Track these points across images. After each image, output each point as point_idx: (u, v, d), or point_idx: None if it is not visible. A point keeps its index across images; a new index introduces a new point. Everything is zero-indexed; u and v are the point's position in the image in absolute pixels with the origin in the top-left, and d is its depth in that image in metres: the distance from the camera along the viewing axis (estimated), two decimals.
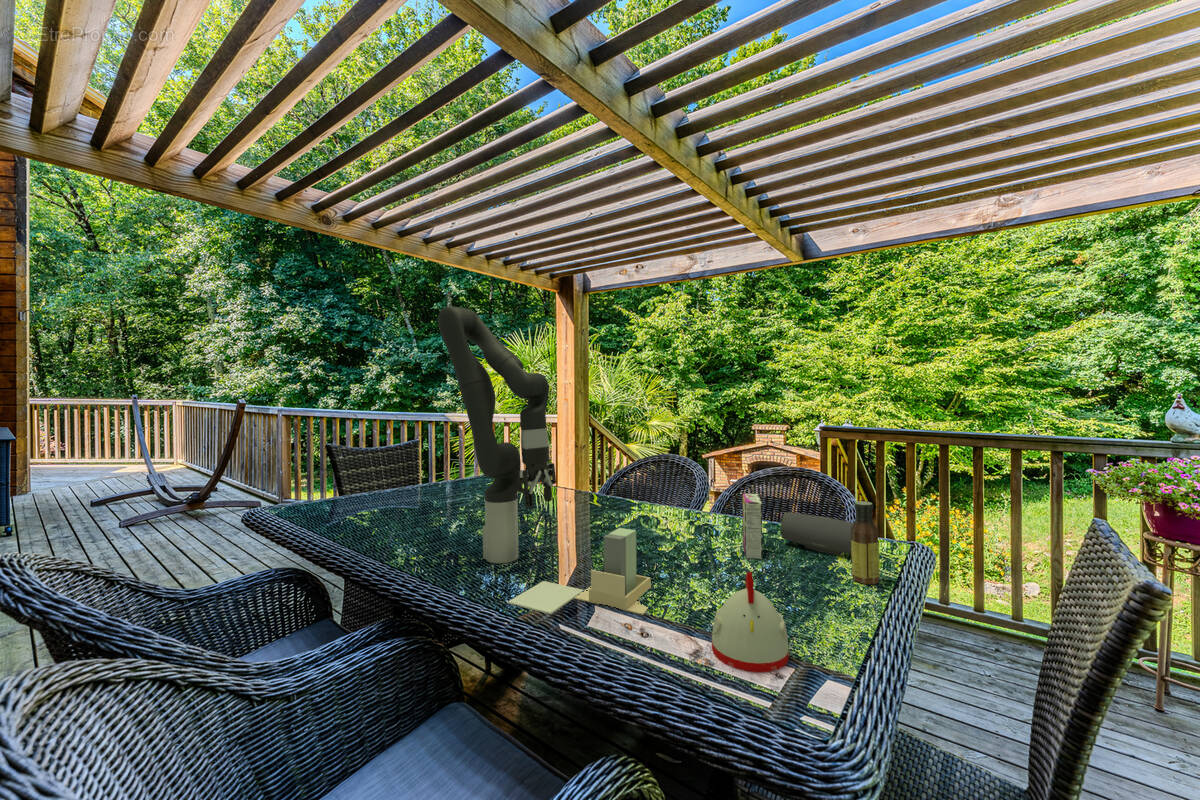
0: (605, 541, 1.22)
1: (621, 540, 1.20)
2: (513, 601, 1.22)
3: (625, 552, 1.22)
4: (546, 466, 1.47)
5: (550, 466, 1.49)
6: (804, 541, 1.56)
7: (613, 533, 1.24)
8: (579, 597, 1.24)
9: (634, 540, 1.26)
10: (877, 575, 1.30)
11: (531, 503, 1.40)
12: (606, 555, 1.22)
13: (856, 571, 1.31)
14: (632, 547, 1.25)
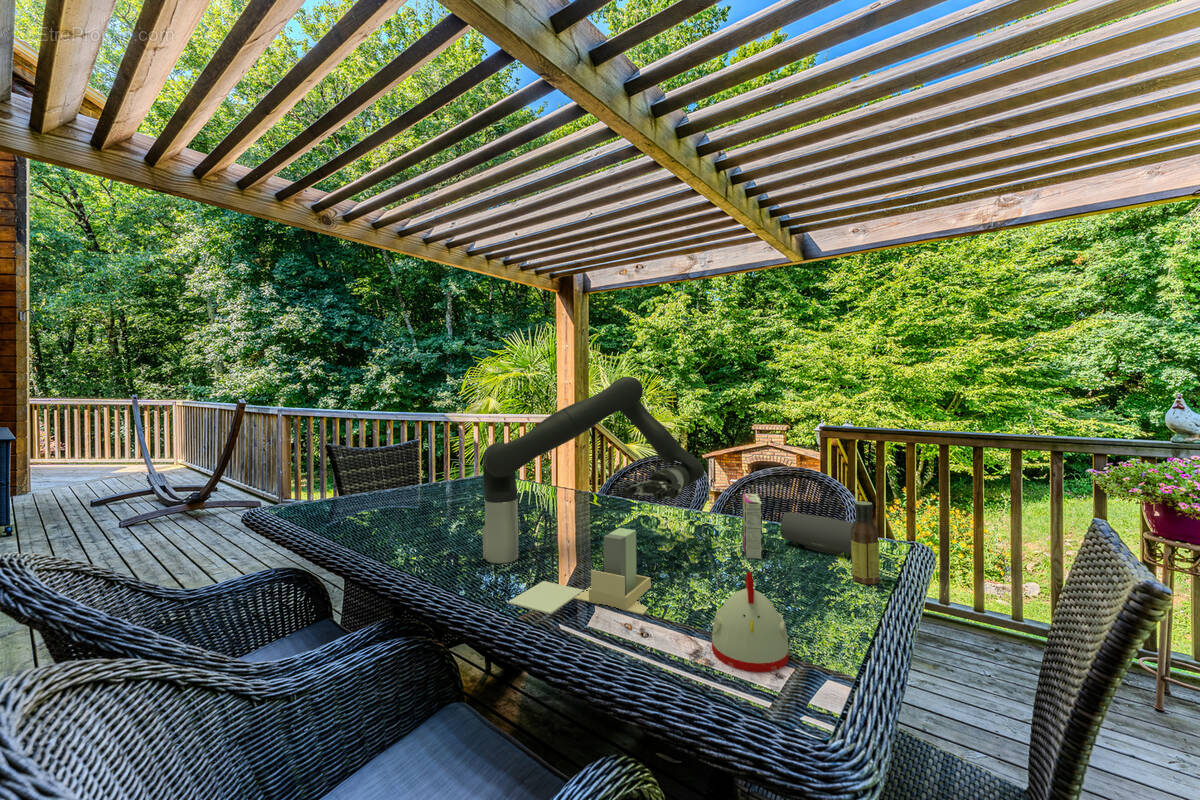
0: (605, 541, 1.22)
1: (621, 540, 1.20)
2: (513, 601, 1.22)
3: (625, 552, 1.22)
4: None
5: (638, 488, 1.46)
6: (804, 541, 1.56)
7: (613, 533, 1.24)
8: (579, 597, 1.24)
9: (634, 540, 1.26)
10: (877, 575, 1.30)
11: (660, 499, 1.33)
12: (606, 555, 1.22)
13: (856, 571, 1.31)
14: (632, 547, 1.25)
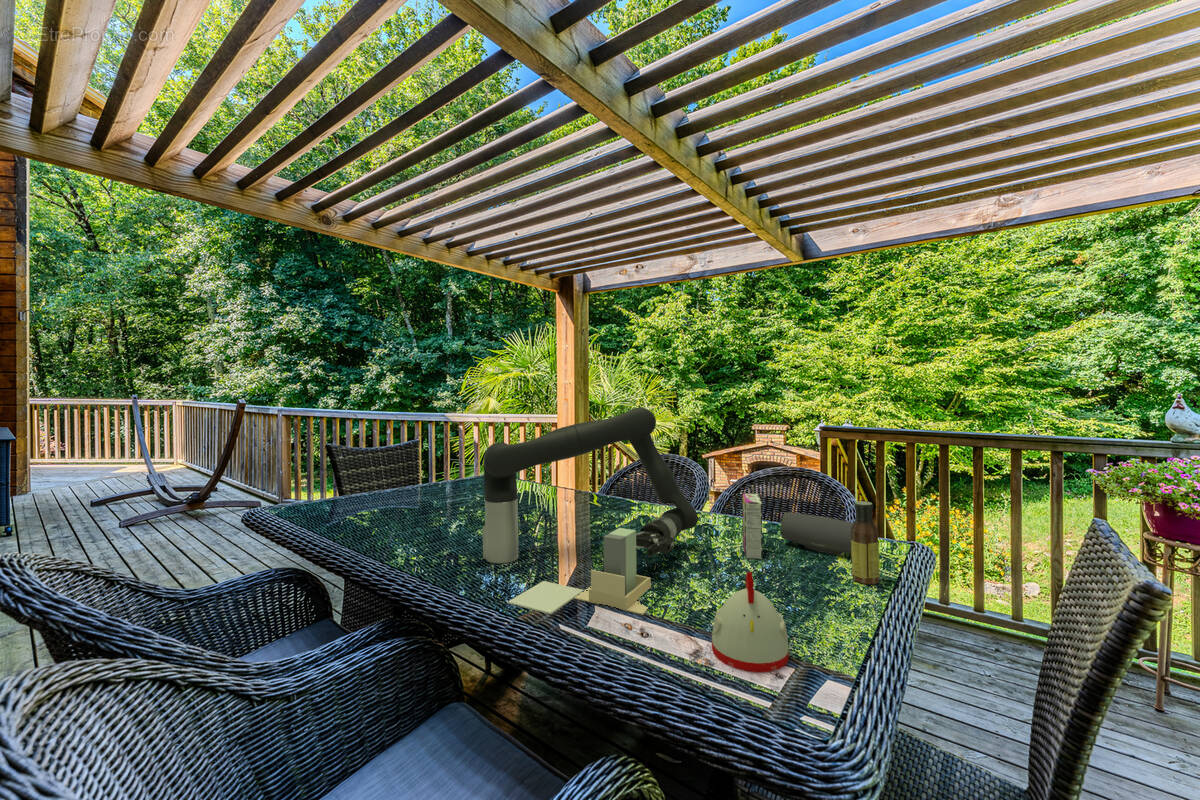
0: (605, 541, 1.22)
1: (621, 540, 1.20)
2: (513, 601, 1.22)
3: (625, 552, 1.22)
4: None
5: None
6: (804, 541, 1.56)
7: (613, 533, 1.24)
8: (579, 597, 1.24)
9: (634, 540, 1.26)
10: (877, 575, 1.30)
11: (651, 555, 1.30)
12: (606, 555, 1.22)
13: (856, 571, 1.31)
14: (632, 547, 1.25)
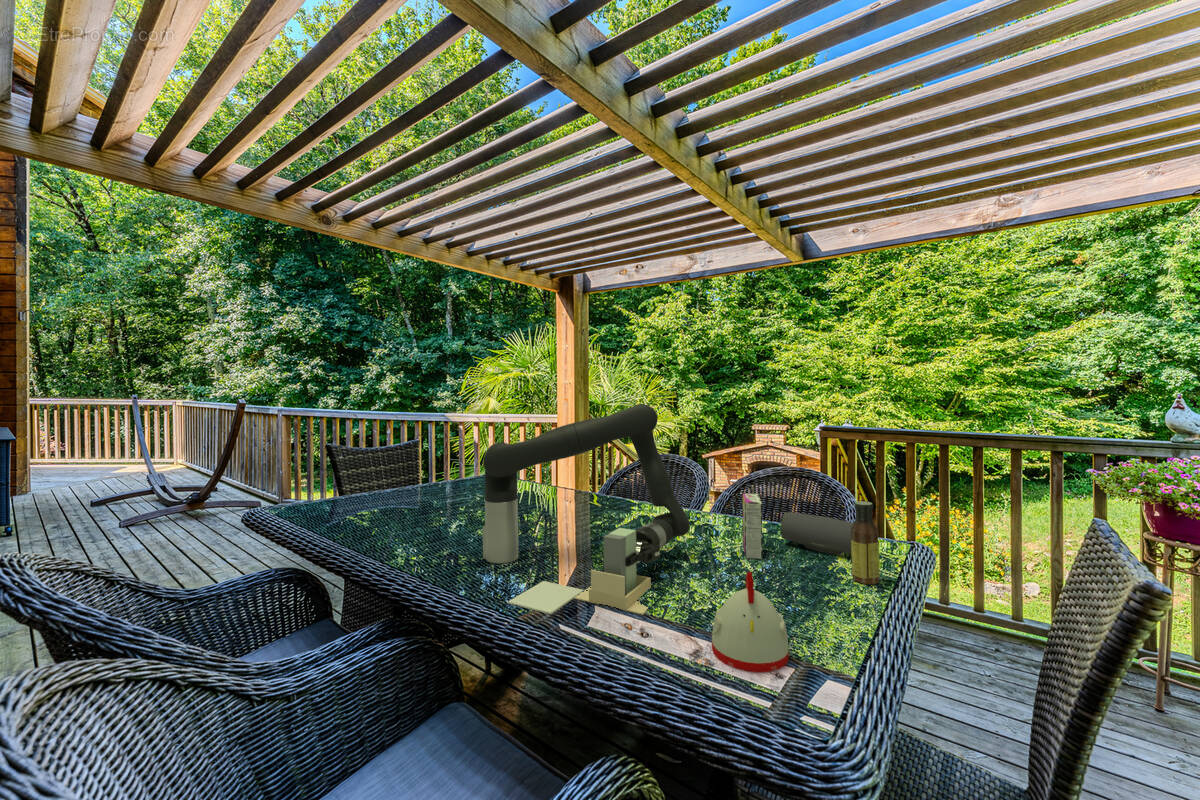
0: (605, 541, 1.22)
1: (621, 540, 1.20)
2: (513, 601, 1.22)
3: (625, 552, 1.22)
4: None
5: None
6: (804, 541, 1.56)
7: (613, 533, 1.24)
8: (579, 597, 1.24)
9: (634, 540, 1.26)
10: (877, 575, 1.30)
11: None
12: (606, 555, 1.22)
13: (856, 571, 1.31)
14: (632, 547, 1.25)
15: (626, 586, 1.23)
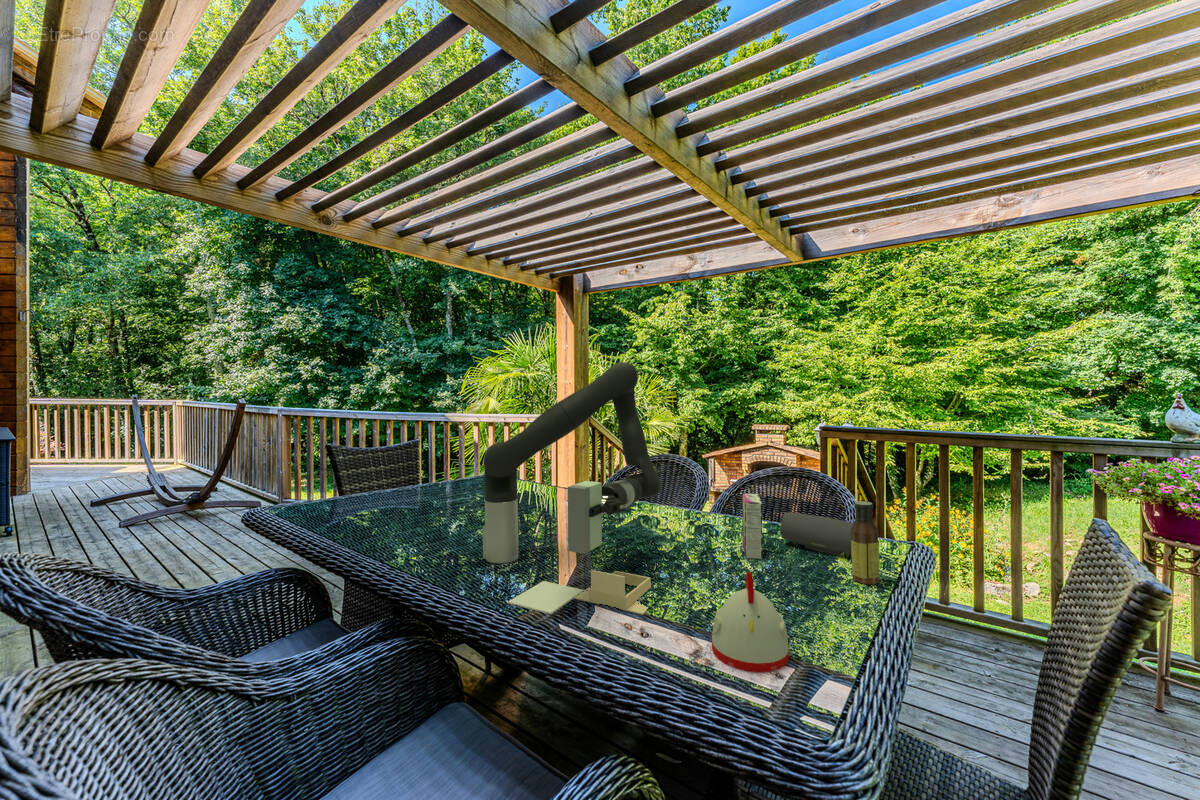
0: (569, 491, 1.22)
1: (584, 490, 1.20)
2: (513, 601, 1.22)
3: (589, 502, 1.22)
4: None
5: None
6: (804, 541, 1.56)
7: (577, 485, 1.24)
8: (579, 597, 1.24)
9: (599, 492, 1.26)
10: (877, 575, 1.30)
11: (594, 515, 1.23)
12: (570, 506, 1.22)
13: (856, 571, 1.31)
14: (597, 499, 1.25)
15: (590, 537, 1.22)
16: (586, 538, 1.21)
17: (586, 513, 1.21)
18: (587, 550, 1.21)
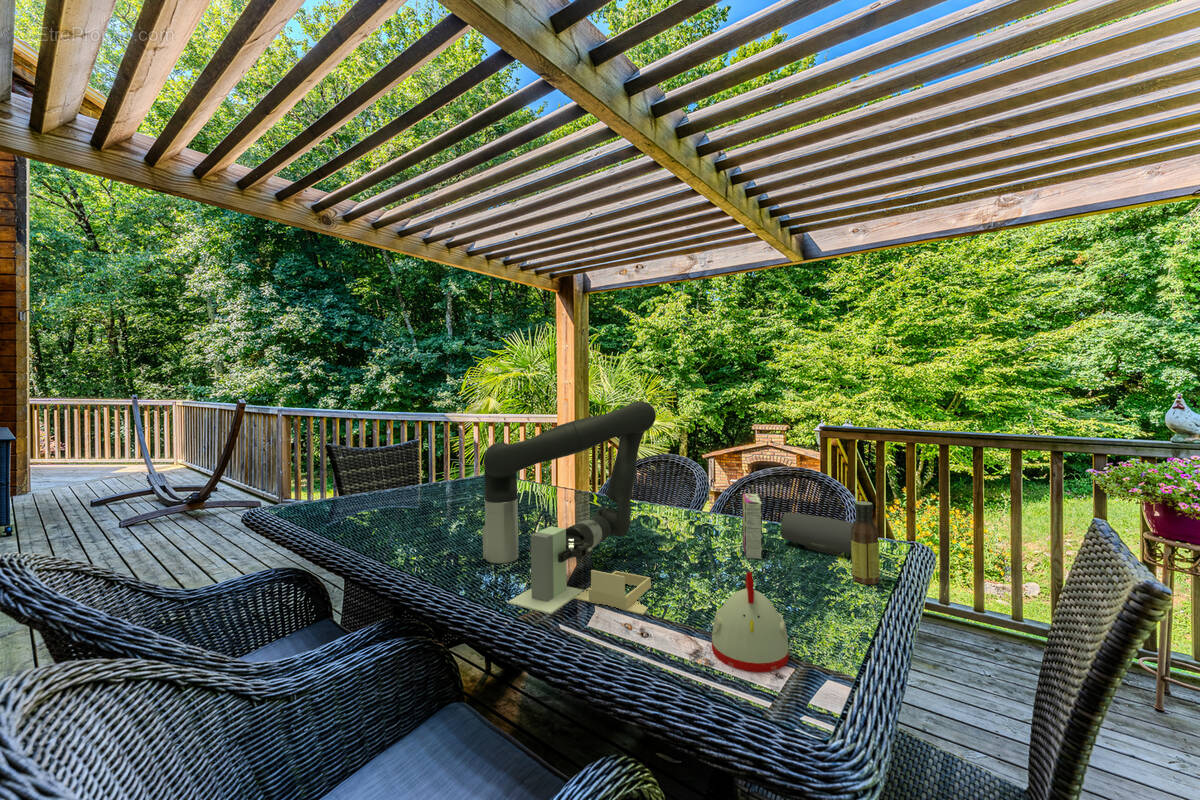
0: (532, 539, 1.22)
1: (547, 538, 1.21)
2: (513, 601, 1.22)
3: (552, 550, 1.23)
4: None
5: None
6: (804, 541, 1.56)
7: (541, 532, 1.25)
8: (579, 597, 1.24)
9: (563, 538, 1.27)
10: (877, 575, 1.30)
11: None
12: (533, 554, 1.22)
13: (856, 571, 1.31)
14: (560, 545, 1.26)
15: (553, 584, 1.23)
16: (549, 586, 1.22)
17: (549, 561, 1.22)
18: (550, 598, 1.22)
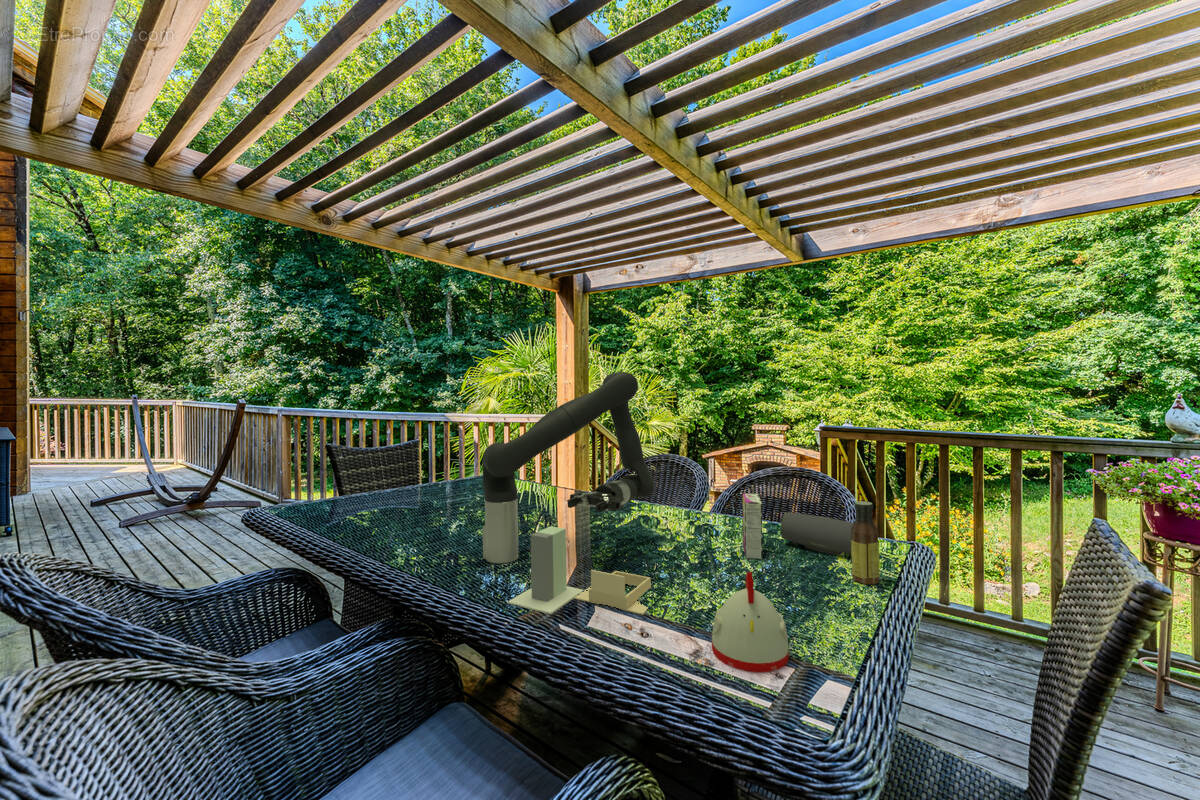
0: (532, 539, 1.22)
1: (547, 538, 1.21)
2: (513, 601, 1.22)
3: (552, 550, 1.23)
4: None
5: None
6: (804, 541, 1.56)
7: (541, 532, 1.25)
8: (579, 597, 1.24)
9: (563, 538, 1.27)
10: (877, 575, 1.30)
11: (600, 511, 1.35)
12: (533, 554, 1.22)
13: (856, 571, 1.31)
14: (560, 545, 1.26)
15: (553, 584, 1.23)
16: (549, 586, 1.22)
17: (549, 561, 1.22)
18: (550, 598, 1.22)
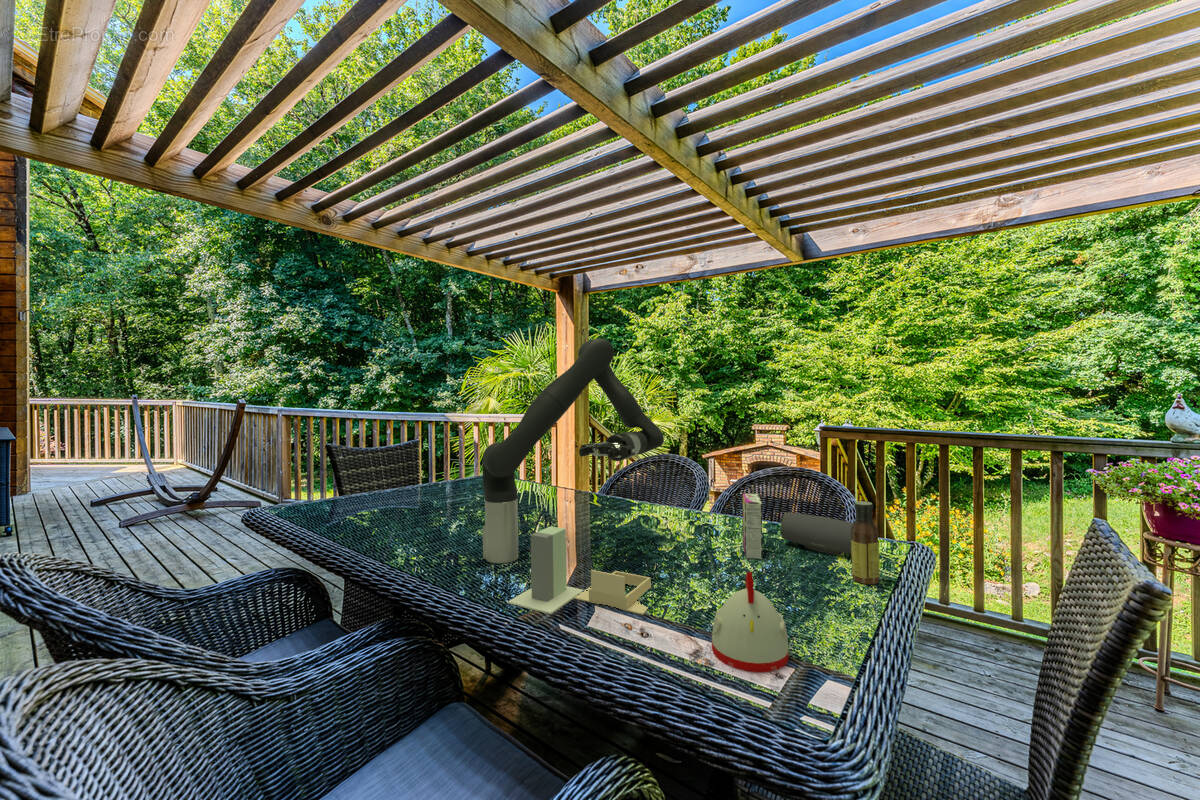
0: (532, 539, 1.22)
1: (547, 538, 1.21)
2: (513, 601, 1.22)
3: (552, 550, 1.23)
4: None
5: None
6: (804, 541, 1.56)
7: (541, 532, 1.25)
8: (579, 597, 1.24)
9: (563, 538, 1.27)
10: (877, 575, 1.30)
11: (612, 457, 1.36)
12: (533, 554, 1.22)
13: (856, 572, 1.31)
14: (560, 545, 1.26)
15: (553, 584, 1.23)
16: (549, 586, 1.22)
17: (549, 561, 1.22)
18: (550, 598, 1.22)
